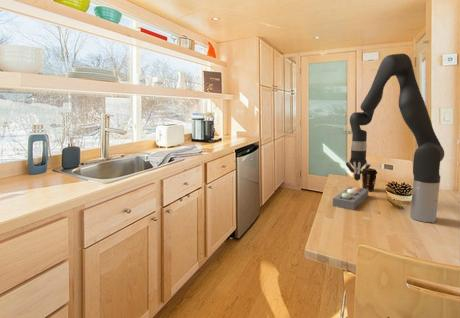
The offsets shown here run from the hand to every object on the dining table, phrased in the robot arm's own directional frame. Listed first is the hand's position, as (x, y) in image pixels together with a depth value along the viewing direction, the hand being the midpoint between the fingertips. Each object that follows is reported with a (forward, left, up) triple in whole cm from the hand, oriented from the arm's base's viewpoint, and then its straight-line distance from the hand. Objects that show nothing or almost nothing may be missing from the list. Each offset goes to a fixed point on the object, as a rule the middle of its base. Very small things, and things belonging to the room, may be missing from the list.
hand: (357, 180), depth 148 cm
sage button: (0, +17, -6) cm, 18 cm away
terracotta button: (0, -1, -8) cm, 8 cm away
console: (0, +8, -10) cm, 13 cm away
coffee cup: (-2, -19, -10) cm, 22 cm away
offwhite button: (0, +8, -6) cm, 10 cm away
